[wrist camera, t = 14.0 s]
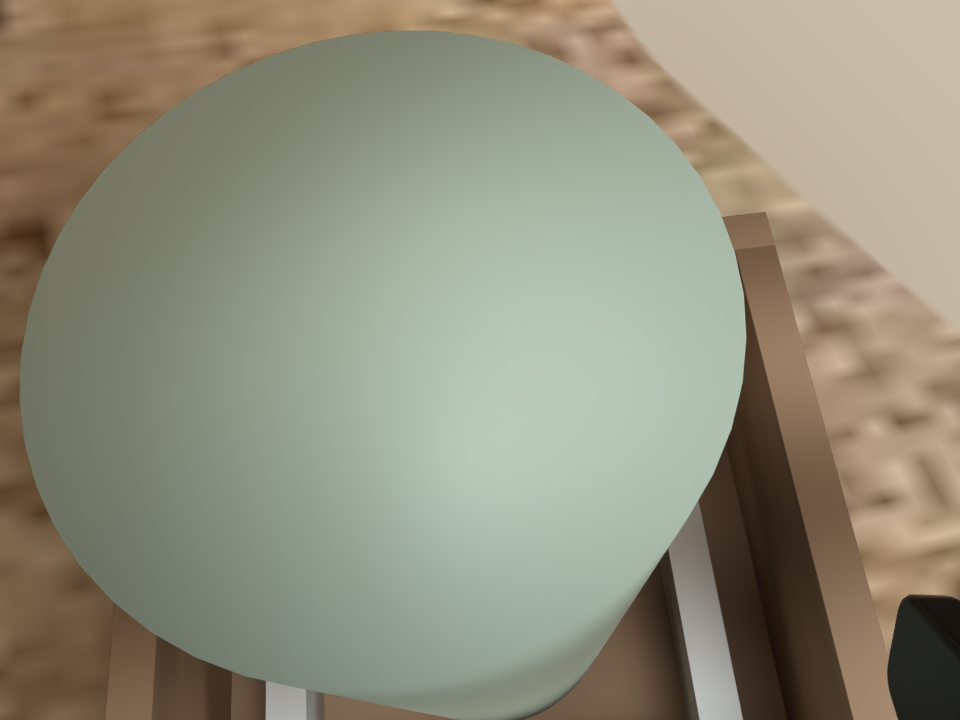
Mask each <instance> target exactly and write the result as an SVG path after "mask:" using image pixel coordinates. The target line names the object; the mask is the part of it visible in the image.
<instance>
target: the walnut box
mask: <svg viewBox="0 0 960 720" xmlns="http://www.w3.org/2000/svg"><path fill="white" fill-rule="evenodd" d="M722 219H723V222H724V224H725V227H726V230H727V233H728V235H729V238H730V241H731V243H732V246H733V249H734V251H735V255H736V260H737V265H738V269H739V274H740V279H741V283H742V288H743V293H744V306H745V322H746V349H745V360H744V372H743V383H742V387H741V391H740V396H739V400H738V404H737V408H736V412H735V416H734V421H733V425H732V429H731V431H730V434H729V436H728V439H727V441H726V444H725V446H724V449H723V451H722V454H721V456H720V459H719V461H718V464H717V466H716V469H715V471H714V474H713V476H712V477H711V479H710V481H709V482H708V484H707V486H706V488H705V489H704V491H703V493H702V494H701V496H700V498H699V500H698V501H697V503H696V505H695V506H694V508H693V510H692V512H691V513H690V515H689V517H688V518H687V520H686V522H685V523H684V525H683V526H682V528H681V529H680V531H679V532H678V534H677V535H676V537H675V538H674V540H673V541H672V543H671V544H670V546H669V547H668V549H667V550H666V552H665V554H664V555H663V557H662V558H661V560H660V561H659V563H658V564H657V566H656V567H655V569H654V570H653V572H652V573H651V575H650V576H649V578H648V579H647V581H646V582H645V584H644V585H643V587H642V589H641V590H640V592H639V593H638V595H637V596H636V598H635V599H634V601H633V602H632V604H631V605H630V607H629V608H628V610H627V611H626V613H625V614H624V616H623V617H622V619H621V621H620V622H619V624H618V625H617V627H616V628H615V630H614V631H613V633H612V634H611V636H610V637H609V639H608V640H607V642H606V643H605V645H604V646H603V648H602V649H601V651H600V653H599V654H598V656H597V657H596V659H595V660H594V662H593V663H592V665H591V666H590V668H589V669H588V671H587V672H586V674H585V675H584V676H583V678H582V679H581V680H580V682H579V683H578V684H577V685H576V687H575V688H574V689H573V690H572V691H571V692H569V693H568V694H567V695H566V696H565V697H564V698H563V699H562V700H560V701H559V702H558V703H556V704H555V705H554V706H552V707H551V708H549V709H547V710H545V711H543V712H541V713H540V714H538V715H535V716H532V717H530V718H527V719H524V720H898V718H897V715H896V712H895V709H894V705H893V702H892V699H891V696H890V692H889V687H888V680H887V666H888V660H889V659H888V655H887V652H886V648H885V644H884V641H883V637H882V633H881V630H880V626H879V622H878V619H877V615H876V612H875V608H874V604H873V601H872V597H871V593H870V590H869V586H868V582H867V579H866V575H865V572H864V568H863V564H862V561H861V557H860V553H859V550H858V546H857V542H856V539H855V535H854V532H853V528H852V524H851V521H850V517H849V513H848V510H847V506H846V502H845V499H844V495H843V492H842V488H841V484H840V481H839V477H838V473H837V470H836V466H835V462H834V459H833V455H832V452H831V448H830V444H829V441H828V437H827V433H826V430H825V426H824V422H823V419H822V415H821V412H820V408H819V404H818V401H817V397H816V393H815V390H814V386H813V382H812V379H811V375H810V372H809V368H808V364H807V361H806V357H805V353H804V350H803V346H802V342H801V339H800V335H799V332H798V328H797V324H796V321H795V317H794V313H793V310H792V306H791V302H790V299H789V295H788V292H787V288H786V284H785V281H784V277H783V273H782V270H781V266H780V262H779V259H778V255H777V251H776V248H775V244H774V241H773V237H772V233H771V230H770V226H769V222H768V219H767V215H766V212H761V213H753V214H744V215H736V216H727V217H722ZM105 720H456V719H451V718H446V717H441V716H436V715H431V714H426V713H421V712H416V711H411V710H406V709H401V708H396V707H391V706H386V705H381V704H376V703H371V702H366V701H361V700H356V699H351V698H346V697H341V696H336V695H331V694H326V693H321V692H316V691H311V690H306V689H301V688H296V687H292V686H287V685H283V684H278V683H274V682H269V681H264V680H260V679H255V678H251V677H246V676H243V675H240V674H238V673H235V672H232V671H230V670H227V669H225V668H222V667H219V666H217V665H214V664H212V663H209V662H206V661H204V660H201V659H198V658H196V657H194V656H192V655H190V654H188V653H187V652H185V651H183V650H181V649H180V648H178V647H176V646H174V645H173V644H171V643H169V642H167V641H166V640H164V639H162V638H160V637H159V636H157V635H155V634H153V633H152V632H150V631H149V630H148V629H146V628H145V627H144V626H143V625H141V624H140V623H139V622H138V621H136V620H135V619H134V618H133V617H131V616H130V615H129V614H128V613H126V612H125V611H124V610H123V609H121V608H120V607H119V606H118V605H116V604H114V616H113V629H112V641H111V653H110V666H109V678H108V690H107V703H106V715H105Z"/></svg>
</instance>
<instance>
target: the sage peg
mask: <svg viewBox="0 0 960 720" xmlns="http://www.w3.org/2000/svg"><path fill="white" fill-rule="evenodd" d="M745 349H746V322H745V306H744V293H743V288H742V283H741V279H740V274H739V269H738V265H737V260H736V255H735V251H734V249H733V246H732V243H731V241H730V238H729V235H728V233H727V230H726V227H725V224H724V222H723V219H722V216H721V214H720V212H719V210H718V208H717V206H716V204H715V203H714V201H713V199H712V197H711V195H710V193H709V192H708V190H707V188H706V186H705V184H704V182H703V181H702V179H701V177H700V176H699V174H698V173H697V172H696V170H695V169H694V168H693V166H692V165H691V164H690V162H689V161H688V160H687V158H686V157H685V156H684V154H683V153H682V152H681V150H680V149H679V148H678V146H677V145H676V144H675V143H674V142H673V141H672V140H671V139H670V138H669V137H668V136H667V135H666V134H665V133H664V132H663V131H662V130H661V128H660V127H659V126H658V125H657V124H656V123H655V122H654V121H653V120H652V119H651V118H650V117H649V116H648V115H646V114H645V113H644V112H642V111H641V110H640V109H639V108H637V107H636V106H635V105H634V104H632V103H631V102H630V101H629V100H627V99H626V98H625V97H623V96H622V95H621V94H620V93H618V92H617V91H615V90H614V89H612V88H610V87H609V86H607V85H605V84H604V83H602V82H601V81H599V80H597V79H596V78H594V77H592V76H591V75H589V74H587V73H586V72H584V71H582V70H580V69H577V68H575V67H573V66H571V65H569V64H567V63H564V62H562V61H560V60H558V59H556V58H553V57H551V56H549V55H546V54H543V53H540V52H537V51H534V50H531V49H528V48H525V47H522V46H519V45H516V44H513V43H509V42H504V41H499V40H495V39H490V38H485V37H480V36H475V35H469V34H460V33H450V32H440V31H384V32H374V33H364V34H354V35H348V36H343V37H338V38H333V39H328V40H323V41H318V42H313V43H310V44H307V45H303V46H300V47H297V48H293V49H290V50H287V51H284V52H280V53H277V54H274V55H271V56H269V57H267V58H264V59H262V60H259V61H257V62H254V63H252V64H250V65H247V66H245V67H242V68H240V69H238V70H235V71H234V72H232V73H230V74H228V75H226V76H224V77H222V78H220V79H219V80H217V81H215V82H213V83H211V84H209V85H207V86H205V87H204V88H202V89H200V90H198V91H197V92H196V93H194V94H193V95H191V96H190V97H188V98H187V99H185V100H184V101H182V102H181V103H179V104H178V105H176V106H175V107H173V108H172V109H170V110H169V111H167V112H166V113H165V114H163V115H162V116H161V117H160V118H159V119H157V120H156V121H155V122H154V123H152V124H151V125H150V126H149V127H148V128H146V129H145V130H144V131H143V132H142V133H140V134H139V135H138V136H137V137H136V138H134V139H133V140H132V141H131V143H130V144H129V145H128V146H127V147H126V148H125V149H124V150H123V151H122V152H121V153H120V154H119V155H118V156H117V157H116V158H115V159H114V160H113V161H112V162H111V163H110V164H109V165H108V166H107V167H106V168H105V169H104V171H103V172H102V173H101V175H100V176H99V177H98V178H97V180H96V181H95V182H94V183H93V185H92V186H91V187H90V189H89V190H88V191H87V192H86V194H85V195H84V196H83V198H82V199H81V200H80V202H79V203H78V205H77V206H76V208H75V210H74V211H73V213H72V215H71V216H70V218H69V219H68V221H67V223H66V224H65V226H64V228H63V229H62V231H61V233H60V234H59V236H58V238H57V240H56V242H55V244H54V246H53V249H52V251H51V253H50V255H49V257H48V260H47V262H46V264H45V266H44V268H43V270H42V273H41V275H40V278H39V281H38V284H37V288H36V291H35V294H34V297H33V300H32V304H31V307H30V310H29V313H28V318H27V323H26V329H25V335H24V341H23V346H22V352H21V364H20V394H19V401H20V410H21V419H22V427H23V436H24V444H25V447H26V451H27V455H28V458H29V462H30V466H31V469H32V473H33V477H34V481H35V484H36V487H37V489H38V491H39V494H40V496H41V498H42V500H43V503H44V505H45V507H46V509H47V512H48V514H49V516H50V518H51V521H52V523H53V525H54V527H55V529H56V530H57V532H58V533H59V535H60V536H61V538H62V539H63V541H64V542H65V544H66V545H67V547H68V548H69V550H70V552H71V553H72V555H73V556H74V558H75V559H76V561H77V562H78V564H79V565H80V566H81V568H82V569H83V570H84V571H85V572H86V573H87V574H88V575H89V576H90V577H91V579H92V580H93V581H94V582H95V583H96V584H97V585H98V586H99V587H100V588H101V590H102V591H103V592H104V593H105V594H106V595H107V596H108V597H109V598H110V599H111V601H113V602H114V603H115V604H116V605H118V606H119V607H120V608H121V609H123V610H124V611H125V612H126V613H128V614H129V615H130V616H131V617H133V618H134V619H135V620H136V621H138V622H139V623H140V624H141V625H143V626H144V627H145V628H146V629H148V630H149V631H150V632H152V633H153V634H155V635H157V636H159V637H160V638H162V639H164V640H166V641H167V642H169V643H171V644H173V645H174V646H176V647H178V648H180V649H181V650H183V651H185V652H187V653H188V654H190V655H192V656H194V657H196V658H198V659H201V660H204V661H206V662H209V663H212V664H214V665H217V666H219V667H222V668H225V669H227V670H230V671H232V672H235V673H238V674H240V675H243V676H246V677H251V678H255V679H260V680H264V681H269V682H274V683H278V684H283V685H287V686H292V687H296V688H301V689H306V690H311V691H316V692H321V693H326V694H331V695H336V696H341V697H346V698H351V699H356V700H361V701H366V702H371V703H376V704H381V705H386V706H391V707H396V708H401V709H406V710H411V711H416V712H421V713H426V714H431V715H436V716H441V717H446V718H451V719H456V720H524V719H527V718H530V717H532V716H535V715H538V714H540V713H541V712H543V711H545V710H547V709H549V708H551V707H552V706H554V705H555V704H556V703H558V702H559V701H560V700H562V699H563V698H564V697H565V696H566V695H567V694H568V693H569V692H571V691H572V690H573V689H574V688H575V687H576V685H577V684H578V683H579V682H580V680H581V679H582V678H583V676H584V675H585V674H586V672H587V671H588V669H589V668H590V666H591V665H592V663H593V662H594V660H595V659H596V657H597V656H598V654H599V653H600V651H601V649H602V648H603V646H604V645H605V643H606V642H607V640H608V639H609V637H610V636H611V634H612V633H613V631H614V630H615V628H616V627H617V625H618V624H619V622H620V621H621V619H622V617H623V616H624V614H625V613H626V611H627V610H628V608H629V607H630V605H631V604H632V602H633V601H634V599H635V598H636V596H637V595H638V593H639V592H640V590H641V589H642V587H643V585H644V584H645V582H646V581H647V579H648V578H649V576H650V575H651V573H652V572H653V570H654V569H655V567H656V566H657V564H658V563H659V561H660V560H661V558H662V557H663V555H664V554H665V552H666V550H667V549H668V547H669V546H670V544H671V543H672V541H673V540H674V538H675V537H676V535H677V534H678V532H679V531H680V529H681V528H682V526H683V525H684V523H685V522H686V520H687V518H688V517H689V515H690V513H691V512H692V510H693V508H694V506H695V505H696V503H697V501H698V500H699V498H700V496H701V494H702V493H703V491H704V489H705V488H706V486H707V484H708V482H709V481H710V479H711V477H712V476H713V474H714V471H715V469H716V466H717V464H718V461H719V459H720V456H721V454H722V451H723V449H724V446H725V444H726V441H727V439H728V436H729V434H730V431H731V429H732V425H733V421H734V416H735V412H736V408H737V404H738V400H739V396H740V391H741V387H742V383H743V372H744V360H745Z"/></svg>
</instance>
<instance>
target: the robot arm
mask: <svg viewBox="0 0 960 720" xmlns="http://www.w3.org/2000/svg"><path fill="white" fill-rule="evenodd" d="M887 680H888V687H889V692H890V696H891V699H892V702H893V705H894V709H895V712H896V715H897V718H898V720H960V600H958V599H956V598H954V597H951V596H945V595H913V594H912V595H908V596H907V597H905V598H904V599H903V600H902V602H901V603H900V606H899V609H898V613H897V618H896V624H895V629H894V634H893V639H892V644H891V650H890V655H889V660H888V666H887Z"/></svg>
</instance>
